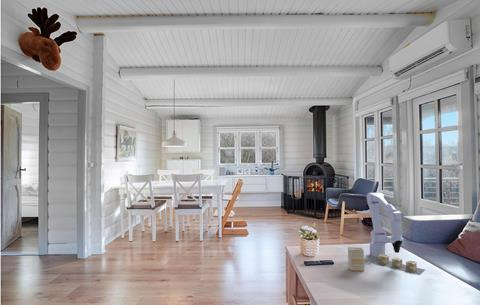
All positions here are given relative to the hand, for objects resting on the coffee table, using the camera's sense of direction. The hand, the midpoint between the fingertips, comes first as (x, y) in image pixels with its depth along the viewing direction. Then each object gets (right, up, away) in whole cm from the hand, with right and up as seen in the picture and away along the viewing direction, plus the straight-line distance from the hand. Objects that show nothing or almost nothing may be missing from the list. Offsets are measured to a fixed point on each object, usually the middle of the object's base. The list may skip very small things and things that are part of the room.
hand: (396, 252), depth 180 cm
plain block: (0, -9, 0) cm, 8 cm away
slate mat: (0, -9, 0) cm, 9 cm away
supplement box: (-27, -9, -4) cm, 29 cm away
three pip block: (+5, -8, -6) cm, 12 cm away
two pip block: (-5, -9, +6) cm, 12 cm away
